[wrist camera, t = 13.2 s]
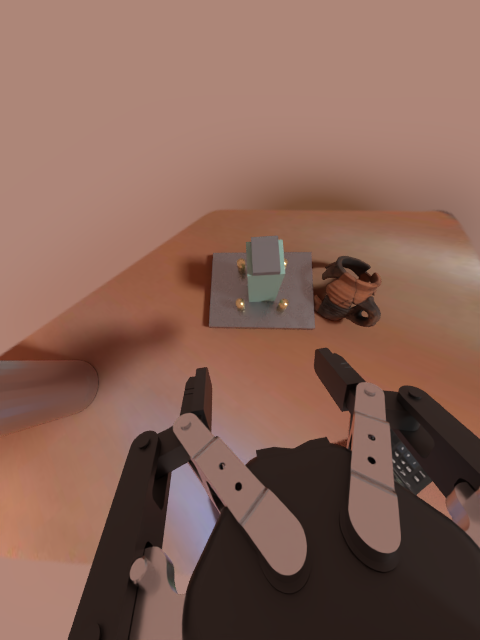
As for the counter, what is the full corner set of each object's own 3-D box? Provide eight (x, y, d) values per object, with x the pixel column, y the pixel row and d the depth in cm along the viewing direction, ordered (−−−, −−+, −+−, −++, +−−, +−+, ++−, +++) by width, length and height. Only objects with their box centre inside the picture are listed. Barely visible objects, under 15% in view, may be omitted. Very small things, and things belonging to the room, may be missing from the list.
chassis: (210, 327, 35) (204, 323, 31) (214, 257, 38) (209, 243, 33) (312, 329, 34) (321, 325, 29) (308, 256, 36) (316, 242, 32)
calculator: (449, 458, 29) (471, 470, 26) (390, 508, 28) (406, 526, 25) (402, 404, 31) (418, 409, 28) (346, 449, 30) (356, 459, 27)
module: (248, 302, 34) (247, 273, 22) (248, 277, 35) (245, 237, 23) (274, 301, 34) (286, 271, 22) (273, 276, 34) (283, 235, 23)
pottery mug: (296, 293, 36) (320, 255, 29) (329, 284, 40) (356, 249, 34) (342, 346, 30) (384, 314, 24) (374, 329, 35) (417, 298, 28)
